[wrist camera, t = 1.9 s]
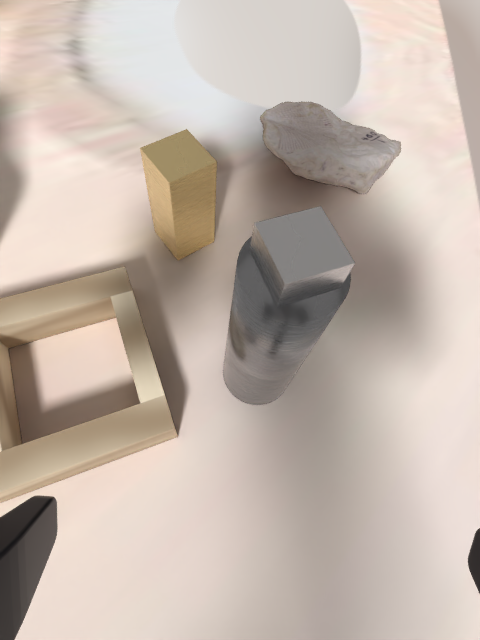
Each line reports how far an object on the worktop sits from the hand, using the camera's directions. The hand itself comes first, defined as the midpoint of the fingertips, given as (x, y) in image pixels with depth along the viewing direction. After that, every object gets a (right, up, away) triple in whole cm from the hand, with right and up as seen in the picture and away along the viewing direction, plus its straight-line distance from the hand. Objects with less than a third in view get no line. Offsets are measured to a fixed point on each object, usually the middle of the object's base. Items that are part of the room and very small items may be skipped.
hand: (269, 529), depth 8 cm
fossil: (+6, +16, +23) cm, 29 cm away
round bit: (0, +1, +15) cm, 15 cm away
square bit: (-5, +10, +19) cm, 22 cm away
